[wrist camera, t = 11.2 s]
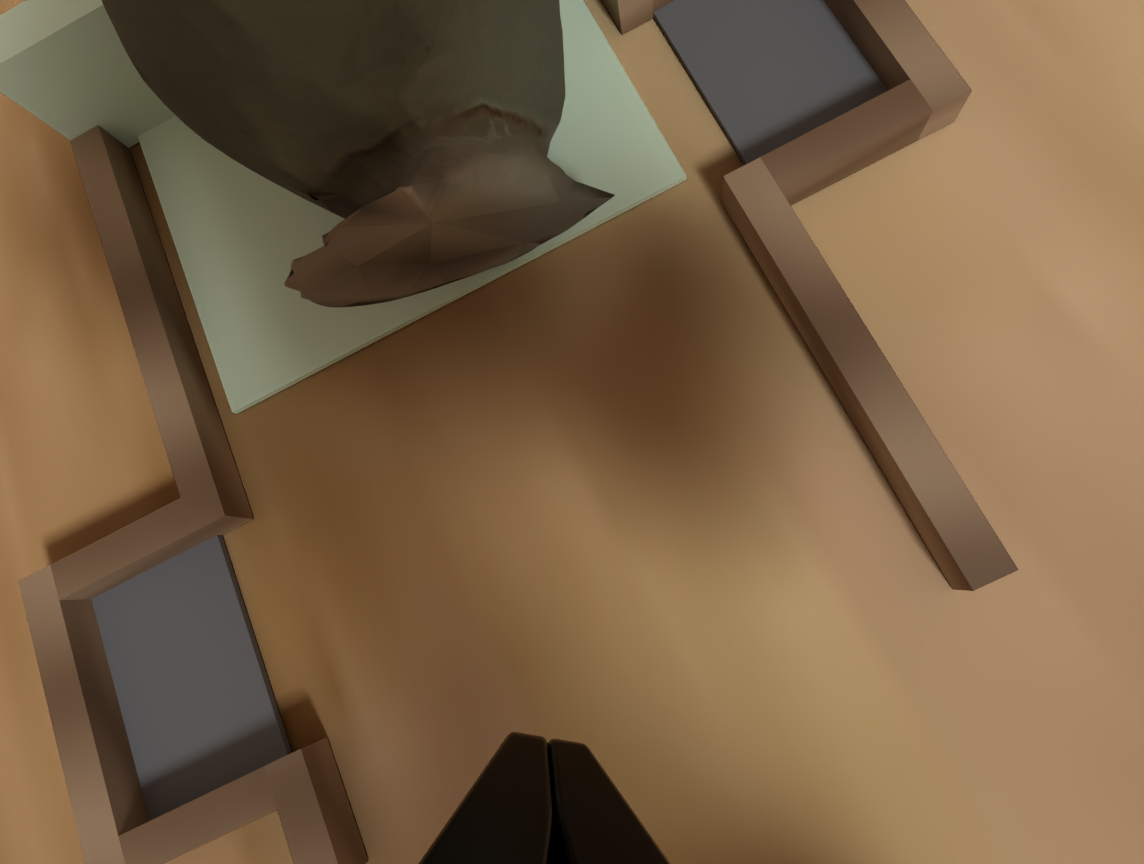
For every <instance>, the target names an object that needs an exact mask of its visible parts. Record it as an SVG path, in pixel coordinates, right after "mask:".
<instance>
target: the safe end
mask: <svg viewBox="0 0 1144 864" xmlns="http://www.w3.org/2000/svg"><path fill="white" fill-rule="evenodd" d="M559 4H560V17H561V24H562V32H563V50H564V74H565V94H566V95H565V101H564V106H563V111H562V116H561V121H560V123H559V125H558V127H557V129H556V131H555V133H554V135H553V138H552V140H551V142H550V146H549V150H548V155H547V157H548V158H549V159H550V160H551V161H552V162H553V163H555V164H556V165H558V166H559V167H561V168H562V170H563V171H564V172H565V173H566V174H567V175H568V176H569V177H571V178H572V179H573V180H575V181H577V182H580V183H583V184H585V185H588V186H591V187H594V188H597V189H600V190H603V191H605V192H608V193H611V194H614V195H615V196H613V197H612V198H611V199H610V200H608V201H607V202H605V203H604V204H602V205H601V206H600V207H598V208H597V209H596V210H594V211H593V212H592V213H590V214H589V215H588V216H586V217H585V218H584V219H582V220H581V221H580V222H578V223H577V224H575V225H574V226H573V227H571V228H570V229H568V230H567V231H565V232H563V233H561V234H560V235H558V236H556V237H554V238H552V239H550V240H548V241H547V242H545V243H543V244H541V245H539V246H537V247H536V248H535V249H533V250H532V251H530V252H528V253H526V254H525V255H523V256H521V257H519V258H517V259H515V260H513V261H511V262H509V263H507V264H504V265H501V266H498V267H495V268H492V269H489V270H486V271H484V272H481V273H478V274H476V275H473V276H470V277H467V278H464V279H461V280H458V281H455V282H452V283H449V284H446V285H443V286H441V287H438V288H435V289H432V290H429V291H426V292H422V293H419V294H415V295H412V296H408V297H405V298H401V299H397V300H394V301H389V302H383V303H377V304H371V305H364V306H354V307H326V306H321V305H318V304H316V303H313V302H312V301H310V300H307V299H304V298H301V293H300V291H297V290H294V289H291V288H288V287H286V286H285V285H284V284H285V281H286V279H287V278H288V276H289V274H290V271H291V262H292V261H293V260H294V259H297V258H300V257H303V256H305V255H307V254H309V253H311V252H313V251H315V250H317V249H318V248H320V247H322V246H324V244H323V240H322V235H324V234H326V233H328V232H329V231H331V230H332V229H333V228H334V227H335V226H336V225H338V224H339V223H340V222H342V221H343V220H345V219H344V218H342V217H340V216H338V215H336V214H334V213H332V212H330V211H328V210H326V209H324V208H322V207H319V206H317V205H315V204H313V203H311V202H309V201H307V200H305V199H303V198H301V197H300V196H298V195H296V194H294V193H292V192H290V191H288V190H286V189H284V188H283V187H281V186H279V185H277V184H275V183H273V182H272V181H270V180H268V179H266V178H264V177H262V176H261V175H259V174H257V173H255V172H253V171H252V170H250V169H248V168H247V167H245V166H243V165H242V164H240V163H238V162H237V161H235V160H233V159H232V158H230V157H229V156H227V155H226V154H224V153H223V152H221V151H220V150H218V149H217V148H215V147H214V146H212V145H211V144H209V143H208V142H206V141H205V140H203V139H202V138H201V137H200V136H198V135H197V134H196V133H195V132H194V131H192V130H191V129H190V128H189V127H188V126H186V125H185V124H184V123H183V122H182V121H181V120H180V119H179V118H178V117H177V116H176V115H175V114H174V113H173V112H172V111H171V110H170V109H169V108H168V107H167V106H166V105H165V104H164V103H163V102H162V101H161V100H160V99H159V98H158V97H157V96H156V95H155V93H154V92H153V91H152V90H151V89H150V88H149V87H148V85H147V84H146V83H145V82H144V81H143V79H142V78H141V76H140V74H139V73H138V71H137V70H136V68H135V67H134V65H133V63H132V61H131V60H130V58H129V56H128V54H127V53H126V51H125V49H124V47H123V45H122V43H121V41H120V39H119V37H118V35H117V32H116V30H115V28H114V26H113V24H112V22H111V20H110V18H109V16H108V14H107V12H106V10H105V8H104V5H103V3H102V1H101V0H25V1H24V2H22V3H20V4H19V5H17V6H15V7H13V8H12V9H10V10H8V11H7V12H5V13H3V14H1V15H0V92H1V93H2V94H4V95H5V96H7V97H8V98H10V99H11V100H13V101H14V102H15V103H17V104H18V105H20V106H21V107H23V108H24V109H26V110H27V111H28V112H30V113H31V114H33V115H34V116H36V117H37V118H39V119H40V120H41V121H43V122H44V123H46V124H47V125H49V126H50V127H52V128H53V129H54V130H56V131H57V132H59V133H60V134H62V135H63V136H65V137H66V138H67V139H69V140H70V141H71V140H72V139H74V138H76V137H78V136H80V135H81V134H83V133H85V132H87V131H88V130H90V129H92V128H94V127H96V126H97V125H99V126H100V127H101V128H103V129H104V130H105V131H107V132H108V133H109V134H111V135H112V136H113V137H115V138H116V139H117V140H119V141H120V142H121V143H123V144H124V145H125V146H127V147H128V148H130V147H132V146H134V145H135V144H137V143H139V142H140V145H141V148H142V151H143V154H144V156H145V159H146V162H147V165H148V168H149V171H150V174H151V177H152V180H153V183H154V186H155V189H156V192H157V194H158V197H159V200H160V203H161V206H162V209H163V212H164V215H165V218H166V221H167V224H168V227H169V230H170V233H171V235H172V238H173V241H174V244H175V247H176V250H177V253H178V256H179V259H180V262H181V265H182V268H183V271H184V273H185V276H186V279H187V282H188V285H189V288H190V291H191V294H192V297H193V300H194V303H195V306H196V309H197V312H198V314H199V317H200V320H201V323H202V326H203V329H204V332H205V335H206V338H207V341H208V344H209V347H210V350H211V352H212V355H213V358H214V361H215V364H216V367H217V370H218V373H219V376H220V379H221V382H222V385H223V388H224V391H225V393H226V396H227V399H228V402H229V405H230V408H231V411H232V413H235V414H238V413H240V412H241V411H243V410H245V409H247V408H249V407H251V406H253V405H255V404H257V403H259V402H261V401H263V400H265V399H266V398H268V397H270V396H272V395H274V394H276V393H278V392H280V391H282V390H284V389H286V388H288V387H289V386H291V385H293V384H295V383H297V382H299V381H301V380H303V379H305V378H307V377H309V376H311V375H313V374H314V373H316V372H318V371H320V370H322V369H324V368H326V367H328V366H330V365H332V364H334V363H336V362H337V361H339V360H341V359H343V358H345V357H347V356H349V355H351V354H353V353H355V352H357V351H359V350H361V349H362V348H364V347H366V346H368V345H370V344H372V343H374V342H376V341H378V340H380V339H382V338H384V337H386V336H387V335H389V334H391V333H393V332H395V331H397V330H399V329H401V328H403V327H405V326H407V325H409V324H410V323H412V322H414V321H416V320H418V319H420V318H422V317H424V316H426V315H428V314H430V313H432V312H434V311H435V310H437V309H439V308H441V307H443V306H445V305H447V304H449V303H451V302H453V301H455V300H457V299H458V298H460V297H462V296H464V295H466V294H468V293H470V292H472V291H474V290H476V289H478V288H480V287H482V286H483V285H485V284H487V283H489V282H491V281H493V280H495V279H497V278H499V277H501V276H503V275H505V274H507V273H508V272H510V271H512V270H514V269H516V268H518V267H520V266H522V265H524V264H526V263H528V262H530V261H531V260H533V259H535V258H537V257H539V256H541V255H543V254H545V253H547V252H549V251H551V250H553V249H555V248H556V247H558V246H560V245H562V244H564V243H566V242H568V241H570V240H572V239H574V238H576V237H578V236H579V235H581V234H583V233H585V232H587V231H589V230H591V229H593V228H595V227H597V226H599V225H601V224H603V223H604V222H606V221H608V220H610V219H612V218H614V217H616V216H618V215H620V214H622V213H624V212H626V211H628V210H629V209H631V208H633V207H635V206H637V205H639V204H641V203H643V202H645V201H647V200H649V199H651V198H652V197H654V196H656V195H658V194H660V193H662V192H664V191H666V190H668V189H670V188H672V187H674V186H676V185H677V184H679V183H681V182H683V181H685V180H687V179H686V174H685V172H684V171H683V169H682V167H681V166H680V164H679V162H678V160H677V159H676V157H675V155H674V154H673V152H672V150H671V149H670V147H669V145H668V143H667V142H666V140H665V138H664V137H663V135H662V133H661V131H660V130H659V128H658V126H657V125H656V123H655V121H654V120H653V118H652V116H651V114H650V113H649V111H648V109H647V108H646V106H645V104H644V103H643V101H642V99H641V97H640V96H639V94H638V92H637V91H636V89H635V87H634V85H633V84H632V82H631V80H630V79H629V77H628V75H627V74H626V72H625V70H624V68H623V67H622V65H621V63H620V62H619V60H618V58H617V57H616V55H615V53H614V51H613V50H612V48H611V46H610V45H609V43H608V41H607V39H606V38H605V36H604V34H603V33H602V31H601V29H600V28H599V26H598V24H597V22H596V21H595V19H594V17H593V16H592V14H591V12H590V11H589V9H588V7H587V5H586V4H585V2H584V0H559Z"/></svg>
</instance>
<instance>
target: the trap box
mask: <svg viewBox="0 0 1144 864" xmlns="http://www.w3.org/2000/svg"><path fill="white" fill-rule="evenodd" d="M673 1H675V0H602V2H603V3H604V5H605V7H606V9H607V10H608V12H609V14H610V15H611V17H612V19H613V20H614V22H615V24H616V25H617V27H618V29H619V30H620V32H621V34H622V35H623V34H625V33H626V32H628V31H630V30H632V29H634V28H636V27H638V26H639V25H641V24H643V23H645V22H647V21H649V20H651V19H652V18H654V14H653V12H655V11H657V10H659V9H660V8H662V7H664V6H666V5H668V4H670V3H671V2H673ZM824 1H825V2H826V3H827V5H828V6H829V8H830V9H831V11H832V12H833V13H834V15H835V16H836V18H837V19H838V20H839V22H840V23H841V25H842V26H843V28H844V29H845V30H846V32H847V33H848V35H849V36H850V37H851V39H852V40H853V42H854V43H855V44H856V46H857V47H858V49H859V50H860V52H861V53H862V54H863V56H864V57H865V59H866V60H867V61H868V63H869V64H870V66H871V67H872V69H873V70H874V71H875V73H876V74H877V76H878V77H879V78H880V80H881V81H882V83H883V84H884V85H885V87H886V88H887V90H888V91H887V92H885V93H883V94H881V95H879V96H877V97H875V98H873V99H871V100H869V101H867V102H865V103H863V104H862V105H860V106H858V107H856V108H854V109H852V110H850V111H848V112H846V113H844V114H842V115H840V116H838V117H836V118H835V119H833V120H831V121H829V122H827V123H825V124H823V125H821V126H819V127H817V128H815V129H813V130H811V131H809V132H808V133H806V134H804V135H802V136H800V137H798V138H796V139H794V140H792V141H790V142H788V143H786V144H784V145H783V146H781V147H779V148H777V149H775V150H773V151H771V152H769V153H767V154H765V155H763V156H761V157H759V158H757V159H756V160H754V161H752V162H750V163H748V164H746V165H744V166H742V167H740V168H738V169H736V170H734V171H732V172H730V173H729V174H727V175H725V176H723V186H722V200H721V201H722V203H723V205H724V206H725V208H726V210H727V212H728V213H729V215H730V217H731V218H732V220H733V222H734V223H735V225H736V227H737V228H738V230H739V232H740V233H741V235H742V237H743V238H744V240H745V242H746V243H747V245H748V247H749V248H750V250H751V252H752V253H753V255H754V257H755V258H756V260H757V262H758V264H759V265H760V267H761V269H762V270H763V272H764V274H765V275H766V277H767V279H768V280H769V282H770V284H771V285H772V287H773V289H774V290H775V292H776V294H777V295H778V297H779V299H780V300H781V302H782V304H783V305H784V307H785V309H786V310H787V312H788V314H789V316H790V317H791V319H792V321H793V322H794V324H795V326H796V327H797V329H798V331H799V332H800V334H801V336H802V337H803V339H804V341H805V342H806V344H807V346H808V347H809V349H810V351H811V352H812V354H813V356H814V357H815V359H816V361H817V362H818V364H819V366H820V368H821V369H822V371H823V373H824V374H825V376H826V378H827V379H828V381H829V383H830V384H831V386H832V388H833V389H834V391H835V393H836V394H837V396H838V398H839V399H840V401H841V403H842V404H843V406H844V408H845V409H846V411H847V413H848V414H849V416H850V418H851V420H852V421H853V423H854V425H855V426H856V428H857V430H858V431H859V433H860V435H861V436H862V438H863V440H864V441H865V443H866V445H867V446H868V448H869V450H870V451H871V453H872V455H873V456H874V458H875V460H876V461H877V463H878V465H879V467H880V468H881V470H882V472H883V473H884V475H885V477H886V478H887V480H888V482H889V483H890V485H891V487H892V488H893V490H894V492H895V493H896V495H897V497H898V498H899V500H900V502H901V503H902V505H903V507H904V508H905V510H906V512H907V513H908V515H909V517H910V519H911V520H912V522H913V524H914V525H915V527H916V529H917V530H918V532H919V534H920V535H921V537H922V539H923V540H924V542H925V544H926V545H927V547H928V549H929V550H930V552H931V554H932V555H933V557H934V559H935V560H936V562H937V564H938V565H939V567H940V569H941V571H942V572H943V574H944V576H945V577H946V579H947V581H948V582H949V584H950V586H951V587H952V589H954V590H970V591H974V590H976V589H978V588H980V587H983V586H985V585H987V584H989V583H991V582H993V581H995V580H998V579H1000V578H1002V577H1004V576H1006V575H1008V574H1011V573H1013V572H1015V571H1017V570H1018V568H1017V567H1016V565H1015V564H1014V562H1013V560H1012V559H1011V557H1010V556H1009V554H1008V552H1007V551H1006V549H1005V548H1004V546H1003V544H1002V543H1001V541H1000V540H999V538H998V536H997V535H996V533H995V532H994V530H993V528H992V527H991V525H990V524H989V522H988V520H987V519H986V517H985V516H984V514H983V512H982V511H981V509H980V508H979V506H978V504H977V503H976V501H975V500H974V498H973V496H972V495H971V493H970V492H969V490H968V488H967V487H966V485H965V484H964V482H963V480H962V479H961V477H960V476H959V474H958V473H957V471H956V469H955V468H954V466H953V465H952V463H951V461H950V460H949V458H948V457H947V455H946V453H945V452H944V450H943V449H942V447H941V445H940V444H939V442H938V441H937V439H936V437H935V436H934V434H933V433H932V431H931V429H930V428H929V426H928V425H927V423H926V421H925V420H924V418H923V417H922V415H921V413H920V412H919V410H918V409H917V407H916V405H915V404H914V402H913V401H912V399H911V397H910V396H909V394H908V393H907V391H906V389H905V388H904V386H903V385H902V383H901V381H900V380H899V378H898V377H897V375H896V373H895V372H894V370H893V369H892V367H891V365H890V364H889V362H888V361H887V359H886V358H885V356H884V354H883V353H882V351H881V350H880V348H879V346H878V345H877V343H876V342H875V340H874V338H873V337H872V335H871V334H870V332H869V330H868V329H867V327H866V326H865V324H864V322H863V321H862V319H861V318H860V316H859V314H858V313H857V311H856V310H855V308H854V306H853V305H852V303H851V302H850V300H849V298H848V297H847V295H846V294H845V292H844V290H843V289H842V287H841V286H840V284H839V282H838V281H837V279H836V278H835V276H834V274H833V273H832V271H831V270H830V268H829V266H828V265H827V263H826V262H825V260H824V258H823V257H822V255H821V254H820V252H819V250H818V249H817V247H816V246H815V244H814V243H813V241H812V239H811V238H810V236H809V235H808V233H807V231H806V230H805V228H804V227H803V225H802V223H801V222H800V220H799V219H798V217H797V215H796V214H795V212H794V211H793V209H792V207H791V205H793V204H795V203H797V202H799V201H800V200H802V199H804V198H806V197H808V196H810V195H812V194H814V193H816V192H818V191H820V190H822V189H824V188H826V187H828V186H830V185H832V184H834V183H836V182H838V181H840V180H841V179H843V178H845V177H847V176H849V175H851V174H853V173H855V172H857V171H859V170H861V169H863V168H865V167H867V166H869V165H871V164H873V163H875V162H877V161H879V160H881V159H882V158H884V157H886V156H888V155H890V154H892V153H894V152H896V151H898V150H900V149H902V148H904V147H906V146H908V145H910V144H912V143H914V142H916V141H918V140H920V139H922V138H923V137H925V136H927V135H929V134H931V133H933V132H935V131H937V130H939V129H941V128H943V127H945V126H947V125H949V124H951V123H953V122H954V121H955V119H956V118H957V116H958V114H959V112H960V111H961V109H962V107H963V105H964V104H965V102H966V100H967V98H968V97H969V95H970V93H971V91H972V90H971V88H970V87H969V85H968V84H967V83H966V81H965V80H964V79H963V77H962V76H961V75H960V73H959V72H958V71H957V69H956V68H955V67H954V65H953V64H952V63H951V61H950V60H949V59H948V57H947V56H946V55H945V53H944V52H943V51H942V49H941V48H940V47H939V45H938V44H937V43H936V41H935V40H934V39H933V37H932V36H931V35H930V33H929V32H928V31H927V29H926V28H925V27H924V25H923V24H922V23H921V21H920V20H919V19H918V17H917V16H916V15H915V13H914V12H913V11H912V9H911V8H910V7H909V5H908V4H907V3H906V1H905V0H824ZM70 142H71V146H72V149H73V152H74V155H75V159H76V162H77V165H78V168H79V171H80V175H81V178H82V181H83V184H84V188H85V191H86V194H87V197H88V201H89V204H90V207H91V210H92V213H93V217H94V220H95V223H96V226H97V230H98V233H99V236H100V239H101V243H102V246H103V249H104V252H105V255H106V259H107V262H108V265H109V268H110V272H111V275H112V278H113V281H114V285H115V288H116V291H117V294H118V297H119V301H120V304H121V307H122V310H123V314H124V317H125V320H126V323H127V327H128V330H129V333H130V336H131V339H132V343H133V346H134V349H135V352H136V356H137V359H138V362H139V365H140V369H141V372H142V375H143V378H144V381H145V385H146V388H147V391H148V394H149V398H150V401H151V404H152V407H153V411H154V414H155V417H156V420H157V423H158V427H159V430H160V433H161V436H162V440H163V443H164V446H165V449H166V453H167V456H168V459H169V462H170V465H171V469H172V472H173V475H174V478H175V482H176V485H177V488H178V491H179V495H180V498H179V499H177V500H175V501H173V502H171V503H169V504H167V505H165V506H163V507H161V508H159V509H157V510H155V511H154V512H152V513H150V514H148V515H146V516H144V517H142V518H140V519H138V520H136V521H134V522H132V523H130V524H128V525H126V526H124V527H122V528H121V529H119V530H117V531H115V532H113V533H111V534H109V535H107V536H105V537H103V538H101V539H99V540H97V541H95V542H93V543H91V544H89V545H87V546H86V547H84V548H82V549H80V550H78V551H76V552H74V553H72V554H70V555H68V556H66V557H64V558H62V559H60V560H58V561H56V562H54V563H52V564H51V565H49V566H47V567H45V568H43V569H41V570H39V571H37V572H35V573H33V574H31V575H29V576H27V577H25V578H23V579H21V580H19V581H18V582H19V586H20V591H21V595H22V599H23V603H24V607H25V612H26V616H27V620H28V624H29V629H30V633H31V637H32V641H33V645H34V650H35V654H36V658H37V662H38V667H39V671H40V675H41V679H42V683H43V688H44V692H45V696H46V700H47V705H48V709H49V713H50V717H51V721H52V726H53V730H54V734H55V738H56V743H57V747H58V751H59V755H60V759H61V764H62V768H63V772H64V776H65V781H66V785H67V789H68V793H69V797H70V802H71V806H72V810H73V814H74V819H75V823H76V827H77V831H78V835H79V840H80V844H81V848H82V852H83V857H84V861H85V864H163V863H165V862H168V861H170V860H172V859H174V858H176V857H178V856H180V855H182V854H184V853H187V852H189V851H191V850H193V849H195V848H197V847H199V846H201V845H203V844H205V843H208V842H210V841H212V840H214V839H216V838H218V837H220V836H222V835H224V834H227V833H229V832H231V831H233V830H235V829H237V828H239V827H241V826H243V825H246V824H248V823H250V822H252V821H254V820H256V819H258V818H260V817H262V816H265V815H267V814H269V813H271V812H273V811H275V810H277V811H278V814H279V818H280V821H281V824H282V827H283V830H284V834H285V837H286V840H287V843H288V847H289V850H290V853H291V856H292V860H293V863H294V864H365V863H366V862H367V861H369V860H368V857H367V854H366V852H365V849H364V846H363V843H362V840H361V837H360V834H359V831H358V828H357V825H356V822H355V819H354V816H353V813H352V810H351V807H350V804H349V801H348V798H347V795H346V792H345V789H344V786H343V783H342V780H341V777H340V774H339V771H338V768H337V765H336V762H335V759H334V756H333V753H332V750H331V747H330V744H329V741H328V738H327V737H326V738H323V739H321V740H319V741H317V742H314V743H312V744H310V745H308V746H305V747H303V748H301V749H299V750H297V751H295V752H293V753H291V754H288V755H286V756H284V757H282V758H280V759H278V760H276V761H274V762H272V763H270V764H268V765H266V766H263V767H261V768H259V769H257V770H255V771H253V772H251V773H249V774H247V775H245V776H243V777H241V778H238V779H236V780H234V781H232V782H230V783H228V784H226V785H224V786H222V787H220V788H218V789H216V790H213V791H211V792H209V793H207V794H205V795H203V796H201V797H199V798H197V799H195V800H193V801H191V802H188V803H186V804H184V805H182V806H180V807H178V808H176V809H174V810H172V811H170V812H168V813H165V814H163V815H161V816H159V817H157V818H155V819H153V820H151V821H150V820H149V816H148V812H147V808H146V804H145V801H144V797H143V793H142V789H141V785H140V782H139V778H138V774H137V770H136V766H135V763H134V759H133V755H132V751H131V747H130V744H129V740H128V736H127V732H126V728H125V725H124V721H123V717H122V713H121V709H120V706H119V702H118V698H117V694H116V690H115V687H114V683H113V679H112V675H111V671H110V668H109V664H108V660H107V656H106V652H105V649H104V645H103V641H102V637H101V633H100V630H99V626H98V622H97V618H96V614H95V611H94V607H93V603H92V598H94V597H96V596H98V595H100V594H102V593H104V592H106V591H108V590H110V589H112V588H114V587H116V586H118V585H120V584H122V583H124V582H126V581H127V580H129V579H131V578H133V577H135V576H137V575H139V574H141V573H143V572H145V571H147V570H149V569H151V568H153V567H155V566H157V565H159V564H161V563H163V562H165V561H167V560H169V559H171V558H173V557H175V556H177V555H179V554H181V553H183V552H185V551H187V550H188V549H190V548H192V547H194V546H196V545H198V544H200V543H202V542H204V541H206V540H208V539H210V538H212V537H214V536H216V535H224V534H226V533H228V532H230V531H232V530H233V529H235V528H237V527H239V526H241V525H243V524H245V523H247V522H249V521H251V520H253V519H254V518H253V515H252V512H251V509H250V506H249V503H248V500H247V497H246V494H245V491H244V488H243V485H242V482H241V479H240V476H239V473H238V471H237V468H236V465H235V462H234V459H233V456H232V453H231V450H230V447H229V444H228V441H227V438H226V435H225V432H224V429H223V426H222V423H221V420H220V417H219V414H218V411H217V408H216V405H215V402H214V399H213V396H212V393H211V390H210V387H209V384H208V381H207V378H206V375H205V372H204V369H203V366H202V363H201V360H200V357H199V354H198V351H197V348H196V345H195V343H194V340H193V337H192V334H191V331H190V328H189V325H188V322H187V319H186V316H185V313H184V310H183V307H182V304H181V301H180V298H179V295H178V292H177V289H176V286H175V283H174V280H173V277H172V274H171V271H170V268H169V265H168V262H167V259H166V256H165V253H164V250H163V247H162V244H161V241H160V238H159V235H158V232H157V229H156V226H155V223H154V220H153V217H152V215H151V212H150V209H149V206H148V203H147V200H146V197H145V194H144V191H143V188H142V185H141V182H140V179H139V176H138V173H137V170H136V167H135V164H134V161H133V158H132V155H131V152H130V149H129V148H128V147H127V146H125V145H124V144H123V143H121V142H120V141H119V140H117V139H116V138H115V137H113V136H112V135H111V134H109V133H108V132H107V131H105V130H104V129H103V128H101V127H100V126H99V125H97V126H96V127H94V128H92V129H90V130H88V131H87V132H85V133H83V134H81V135H80V136H78V137H76V138H74V139H72V140H71V141H70Z"/></svg>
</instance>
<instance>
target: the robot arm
mask: <svg viewBox="0 0 1144 864" xmlns="http://www.w3.org/2000/svg"><path fill="white" fill-rule="evenodd" d="M419 864H670V863H669V861H668V860H667V858H666V857H665V856H664V854H663V853H662V851H661V850H660V848H659V847H658V846H657V844H656V843H655V841H654V840H653V839H652V837H651V836H650V834H649V833H648V831H647V830H646V829H645V827H644V826H643V824H642V823H641V822H640V820H639V819H638V817H637V816H636V814H635V813H634V812H633V810H632V809H631V807H630V806H629V804H628V803H627V802H626V800H625V799H624V797H623V796H622V795H621V793H620V792H619V790H618V789H617V787H616V786H615V785H614V783H613V782H612V780H611V779H610V778H609V776H608V775H607V773H606V772H605V770H604V769H603V768H602V766H601V765H600V763H599V762H598V761H597V759H596V758H595V756H594V755H593V753H592V752H591V751H590V749H589V748H588V747H587V746H586V745H585V744H583V743H578V742H572V741H566V740H560V739H551V740H550V741H549V742H548V743H547V740H546V739H545V738H544V737H541V736H536V735H530V734H524V733H518V732H512V733H510V734H509V735H508V736H507V737H506V739H505V740H504V742H503V743H502V744H501V746H500V747H499V749H498V750H497V752H496V753H495V755H494V756H493V757H492V759H491V760H490V762H489V763H488V765H487V766H486V767H485V769H484V770H483V772H482V773H481V775H480V776H479V778H478V779H477V780H476V782H475V783H474V785H473V786H472V788H471V789H470V790H469V792H468V793H467V795H466V796H465V798H464V799H463V801H462V802H461V803H460V805H459V806H458V808H457V809H456V811H455V812H454V813H453V815H452V816H451V818H450V819H449V821H448V822H447V824H446V825H445V826H444V828H443V829H442V831H441V832H440V834H439V835H438V837H437V838H436V839H435V841H434V842H433V844H432V845H431V847H430V848H429V849H428V851H427V852H426V854H425V855H424V857H423V858H422V860H421V861H420V862H419Z"/></svg>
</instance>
